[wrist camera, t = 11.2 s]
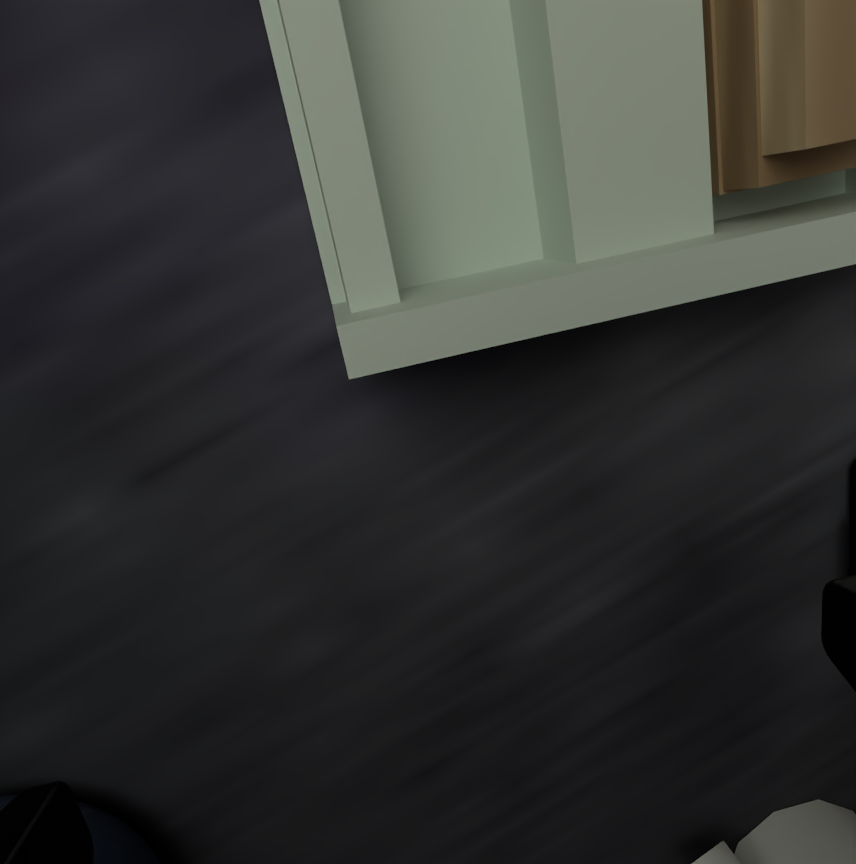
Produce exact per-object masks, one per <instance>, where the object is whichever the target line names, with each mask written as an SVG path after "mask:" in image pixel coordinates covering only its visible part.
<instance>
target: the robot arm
mask: <svg viewBox="0 0 856 864" xmlns="http://www.w3.org/2000/svg"><path fill="white" fill-rule="evenodd" d="M821 636H822V643H823V646H824V649H825V651H826V653H827V655H828V657H829V658H830V660H831V661H832V662H833V664H834V665H835V666H836V667H837V669H838V670H839V671H840V672H841V674H842V675H843V676H844V678H845V679H846V680H847V681H848V683H849V684H850V685H851V686H852V688H853V689H854V690H855V691H856V460H855V461H854V462H853V464H852V466H851V471H850V544H849V576H847V577H843V578H839V579H835V580H832V581H830V582H828V583H827V584H826V585H825V587H824V589H823V597H822V632H821ZM93 857H94V847H93V840H92V836H91V833H90V830H89V828H88V826H87V823H86V821H85V819H84V817H83V815H82V812H81V810H80V808H79V806H78V803H77V801H76V799H75V797H74V794H73V792H72V790H71V789H70V787H69V786H68V785H67V784H66V783H65V782H61V781H56V782H52V783H48V784H44V785H40V786H37V787H33V788H29V789H26V790H24V791H22V792H21V793H19V794H18V795H17V796H16V797H15V798H14V799H13V800H12V801H11V802H10V803H8V804H7V805H6V806H5V807H4V808H3V809H2V810H1V811H0V864H93Z"/></svg>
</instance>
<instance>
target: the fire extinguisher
mask: <svg viewBox="0 0 856 864" xmlns="http://www.w3.org/2000/svg"><path fill="white" fill-rule="evenodd" d="M692 864H856V814H855V813H854V812H853V811H852V810H849V809H846V808H843V807H840V806H837V805H834V804H831V803H828V802H825V801H822V800H819V799H818V800H814V801H810V802H807V803H803V804H800V805H796V806H793V807H789V808H785V809H782V810H778V811H775V812H773V813H772V814H771V815H770V816H769V817H767V818H766V819H765V820H764V821H763V822H762V823H760V824H759V825H758V826H757V827H756V828H755V829H754V830H752V831H751V832H750V833H749V834H748V835H747V836H746V837H744V838H743V839H742V840H741V841H740V842H739V843H738V845H737V848H736V851H735V853H734V854H733V852H732V851H731V850H730V848H729V847H728V846H727V844H726V843H725V842H724V840H723V841H722V842H720V843H719V844H718V845H716V846H715V847H714V848H712V849H711V850H710V851H708V852H707V853H705V854H704V855H703V856H701V857H700V858H699V859H697V860H696V861H695V862H693V863H692Z"/></svg>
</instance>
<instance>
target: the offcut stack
mask: <svg viewBox="0 0 856 864" xmlns="http://www.w3.org/2000/svg"><path fill="white" fill-rule="evenodd" d="M702 10H703V30H704V49H705V68H706V87H707V107H708V126H709V145H710V165H711V184H712V196H715V195H723V194H728V193H732V192H737V191H742V190H746V189H751V188H760V187H765V186H769V185H774V184H779V183H783V182H788V181H793V180H797V179H802V178H807V177H811V176H816V175H821V174H826V173H830V172H835V171H840V170H844V169H849V168H854V167H856V0H702Z"/></svg>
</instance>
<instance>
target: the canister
mask: <svg viewBox="0 0 856 864" xmlns="http://www.w3.org/2000/svg"><path fill="white" fill-rule="evenodd" d="M17 795H18V794H13V795H2V796H0V811H1V810H2V809H3V808H4V807H5V806H6V805H7V804H8V803H10V802H11V801H12V800H13V799H14V798H15V797H16V796H17ZM77 803H78V806H79V808H80V810H81V812H82V815H83V817H84V819H85V821H86V823H87V826H88V828H89V830H90V833H91V836H92V840H93V847H94V857H93V864H160V863H159V861H158V859H157V858H156V856H155V854H154V853H153V851H152V850H151V849H150V847H149V846H148V845H147V843H146V842H145V841H144V839H143V838H142V837H141V836H140V835H138V834H137V833H136V832H135V831H134V830H133V829H132V828H130V827H129V826H128V825H126V824H125V823H124V822H122V821H121V820H119V819H118V818H116V817H114V816H113V815H111V814H109V813H107V812H106V811H103V810H101V809H98V808H96V807H93V806H91V805H88V804H85V803H82V802H78V801H77Z"/></svg>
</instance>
